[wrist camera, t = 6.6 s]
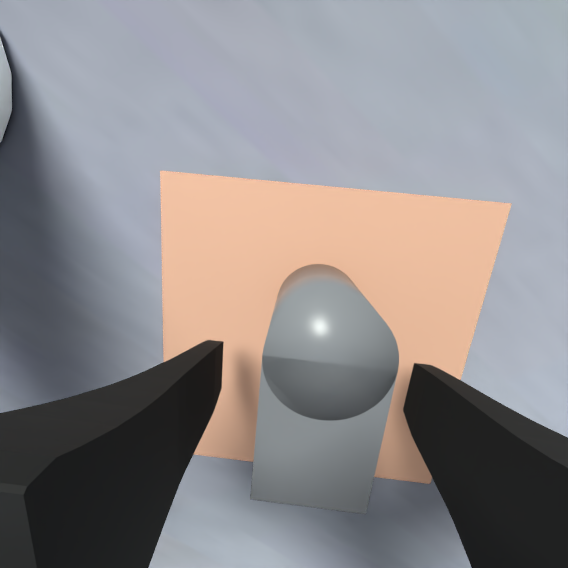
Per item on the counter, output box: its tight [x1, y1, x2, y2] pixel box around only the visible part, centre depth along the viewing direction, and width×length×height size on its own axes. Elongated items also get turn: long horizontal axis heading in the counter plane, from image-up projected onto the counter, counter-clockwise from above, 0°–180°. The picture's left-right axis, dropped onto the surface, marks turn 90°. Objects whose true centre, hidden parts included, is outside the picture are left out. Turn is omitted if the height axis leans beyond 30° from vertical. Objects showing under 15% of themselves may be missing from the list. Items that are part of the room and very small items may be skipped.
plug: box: [250, 264, 399, 514], centre depth 10 cm, size 4×9×5 cm, turn 175°
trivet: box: [160, 171, 511, 484], centre depth 13 cm, size 14×14×1 cm
